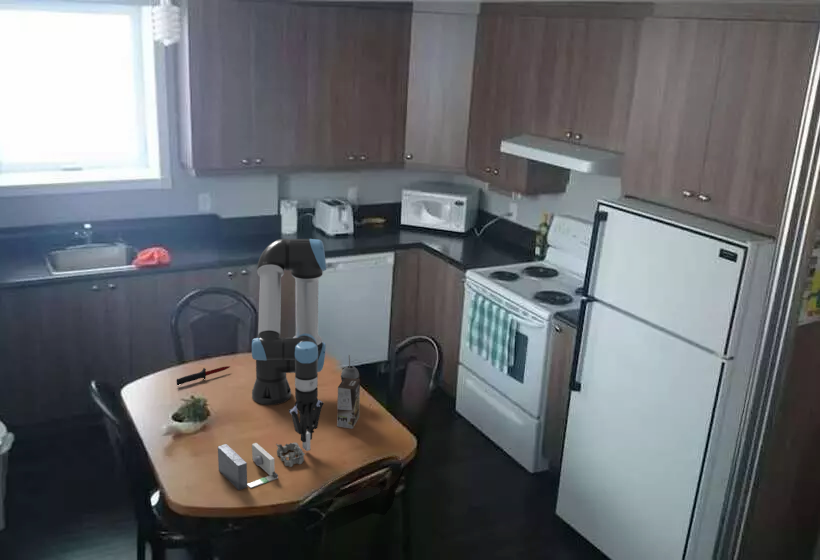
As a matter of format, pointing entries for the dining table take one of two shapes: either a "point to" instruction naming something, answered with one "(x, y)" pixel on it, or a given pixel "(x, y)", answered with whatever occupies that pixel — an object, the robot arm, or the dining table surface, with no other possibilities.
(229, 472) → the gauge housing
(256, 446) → the spring plate
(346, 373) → the beverage cup
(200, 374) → the knife
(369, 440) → the dining table surface
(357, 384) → the coffee box
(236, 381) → the dining table surface
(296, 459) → the egg carton
